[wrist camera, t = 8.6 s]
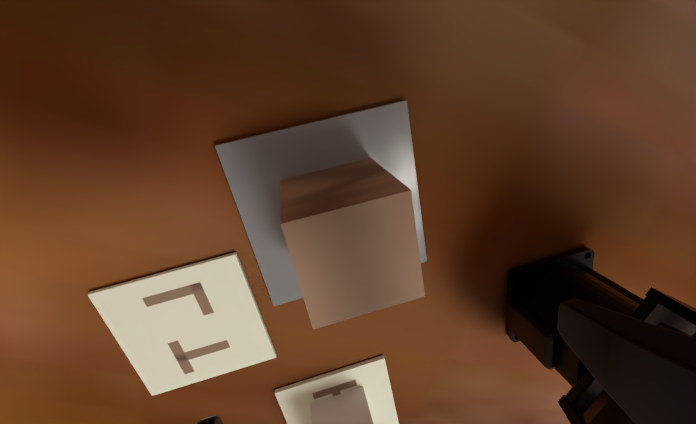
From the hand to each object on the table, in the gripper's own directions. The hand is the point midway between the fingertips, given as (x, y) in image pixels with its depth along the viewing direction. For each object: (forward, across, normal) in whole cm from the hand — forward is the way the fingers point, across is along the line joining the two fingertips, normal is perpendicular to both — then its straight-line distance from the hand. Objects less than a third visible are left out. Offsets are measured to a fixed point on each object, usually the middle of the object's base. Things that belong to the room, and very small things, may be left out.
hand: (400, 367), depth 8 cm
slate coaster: (+12, 0, 0) cm, 12 cm away
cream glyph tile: (+12, +10, +5) cm, 16 cm away
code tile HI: (+12, +3, +16) cm, 20 cm away
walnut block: (+11, 0, 0) cm, 11 cm away
